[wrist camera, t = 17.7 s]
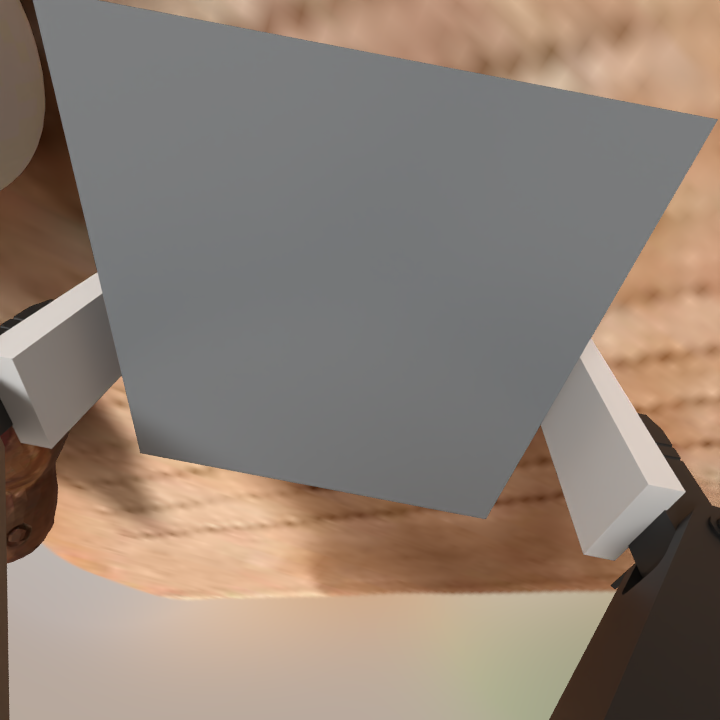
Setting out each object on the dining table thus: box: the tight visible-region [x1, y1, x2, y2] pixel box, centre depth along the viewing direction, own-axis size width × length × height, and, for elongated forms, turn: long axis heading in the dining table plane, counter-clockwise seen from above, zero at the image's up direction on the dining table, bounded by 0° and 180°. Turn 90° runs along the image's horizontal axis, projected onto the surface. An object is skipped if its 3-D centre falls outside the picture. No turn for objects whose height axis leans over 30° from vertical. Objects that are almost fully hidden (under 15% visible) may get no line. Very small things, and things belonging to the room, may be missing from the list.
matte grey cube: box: [33, 0, 718, 519], centre depth 13 cm, size 10×10×9 cm
